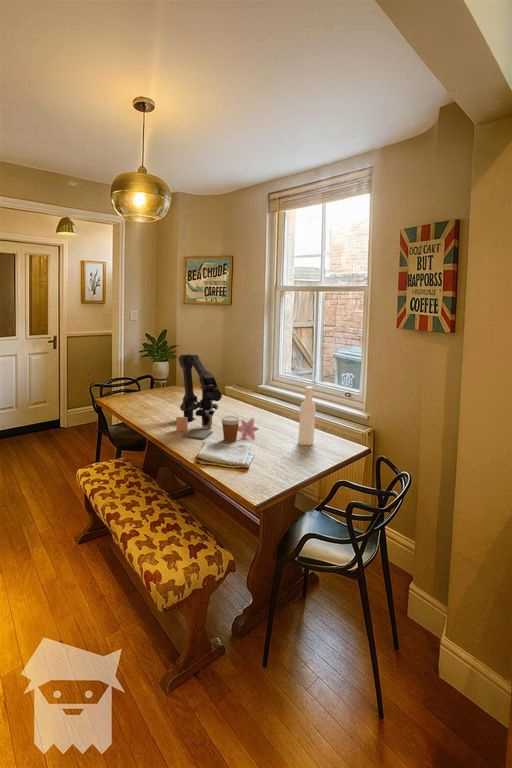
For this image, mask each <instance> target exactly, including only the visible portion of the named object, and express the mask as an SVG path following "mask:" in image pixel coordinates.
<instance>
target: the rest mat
mask: <svg viewBox="0 0 512 768" xmlns="http://www.w3.org/2000/svg"><path fill="white" fill-rule="evenodd" d="M212 434H214V433H213V430H207V429H197V428H192V429H190V430H189V431H187V432H184V433H183V434H182V437H183V438H187V437H188V438H190V439H196V440H206V439H207V438H209V436H211V435H212Z"/></svg>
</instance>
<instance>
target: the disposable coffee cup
mask: <svg viewBox="0 0 512 768" xmlns="http://www.w3.org/2000/svg"><path fill="white" fill-rule="evenodd" d="M240 422H241V419H240V418H239V417H237V416H234V415H233V416H231V415H227V416H224V417H222V419H221V424H222V433H223V441H224V442H225V443H235V442H236V441H237V437H238V432H239V431H238V427H239V426H240V425H239V424H240Z"/></svg>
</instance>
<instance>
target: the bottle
mask: <svg viewBox="0 0 512 768" xmlns="http://www.w3.org/2000/svg"><path fill="white" fill-rule="evenodd" d="M313 391H314V387H313V386H306V387H305V391H304V393H305V394H304V400H303V401H302V402H301V404H300V408H299V421H298V422H299V423H298V424H299V426H298V438H297V440H298V441H297V442H298V444H299V445H300V446H304V445H310V446H312V445H311V444H313V445H314V440H315V439H314V436H315V435H314V434H315V423H316V410H317V409H316V404H315V402H314V401H313Z"/></svg>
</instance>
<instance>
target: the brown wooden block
mask: <svg viewBox="0 0 512 768" xmlns="http://www.w3.org/2000/svg"><path fill="white" fill-rule="evenodd" d="M212 425H213V416H212V415H210V417H209V420H208V423H207V425H205V424H204V421H203V418H202V417H201V430H207V431H212V428H213V427H212Z"/></svg>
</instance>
